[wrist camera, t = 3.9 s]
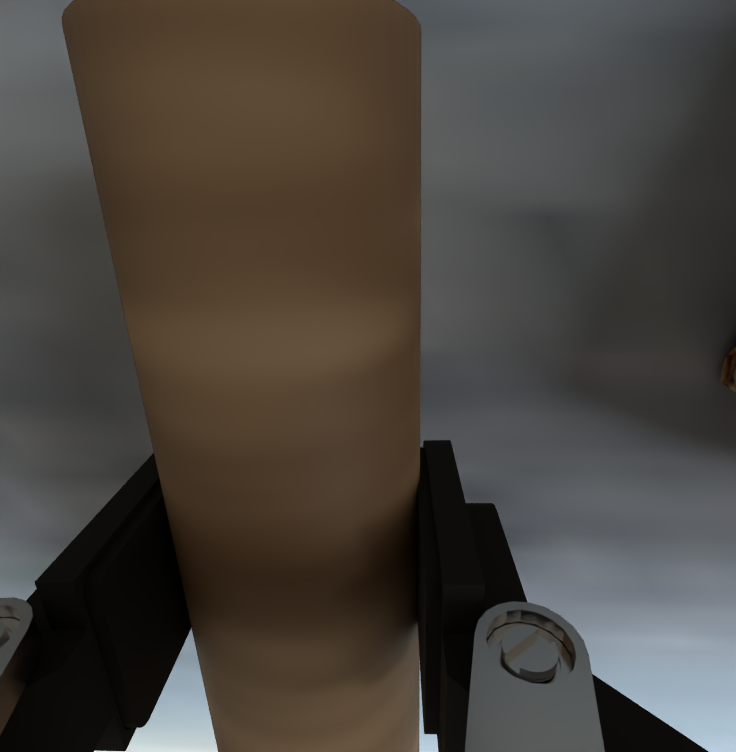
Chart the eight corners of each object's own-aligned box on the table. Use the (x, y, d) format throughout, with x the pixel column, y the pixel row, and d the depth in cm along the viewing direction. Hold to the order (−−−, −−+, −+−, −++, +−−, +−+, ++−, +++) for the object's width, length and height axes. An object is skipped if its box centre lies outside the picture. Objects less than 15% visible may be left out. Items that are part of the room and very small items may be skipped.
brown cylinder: (170, 86, 9) (-47, -10, 5) (418, 72, 8) (426, -48, 4) (267, 709, 14) (209, 919, 10) (417, 718, 14) (420, 939, 10)
